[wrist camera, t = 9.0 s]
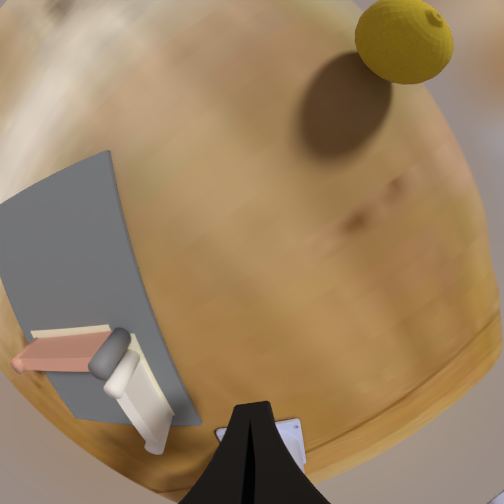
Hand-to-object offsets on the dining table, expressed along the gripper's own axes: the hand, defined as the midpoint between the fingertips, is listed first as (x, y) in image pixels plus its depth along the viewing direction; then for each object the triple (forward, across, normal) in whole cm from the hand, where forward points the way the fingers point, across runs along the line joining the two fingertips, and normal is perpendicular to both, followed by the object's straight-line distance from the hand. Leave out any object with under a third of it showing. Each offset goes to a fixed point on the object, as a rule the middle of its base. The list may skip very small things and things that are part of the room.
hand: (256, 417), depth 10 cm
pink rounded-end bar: (+9, +15, 0) cm, 17 cm away
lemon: (+10, -12, -16) cm, 22 cm away
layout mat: (+9, +15, -1) cm, 18 cm away
